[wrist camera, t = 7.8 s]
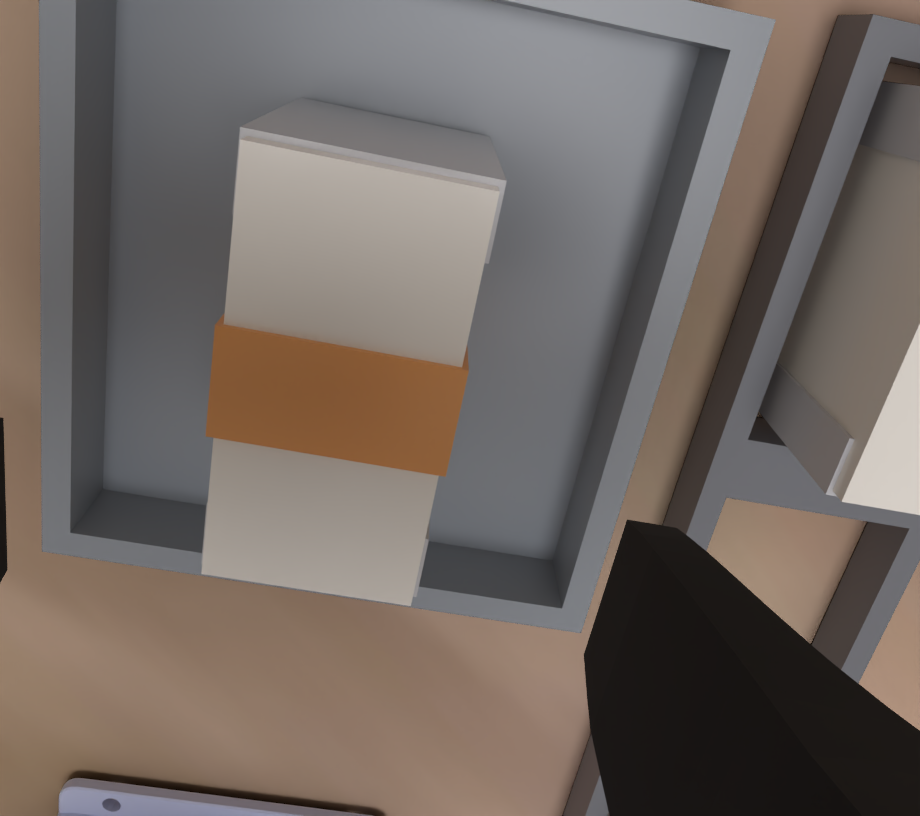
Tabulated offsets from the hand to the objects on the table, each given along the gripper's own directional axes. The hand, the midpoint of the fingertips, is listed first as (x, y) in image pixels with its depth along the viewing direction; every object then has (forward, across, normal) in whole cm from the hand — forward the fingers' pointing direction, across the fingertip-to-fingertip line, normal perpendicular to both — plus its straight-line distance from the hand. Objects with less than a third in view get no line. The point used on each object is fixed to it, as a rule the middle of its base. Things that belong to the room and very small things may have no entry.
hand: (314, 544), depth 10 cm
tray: (+10, 0, 0) cm, 10 cm away
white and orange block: (+9, 0, 0) cm, 9 cm away
